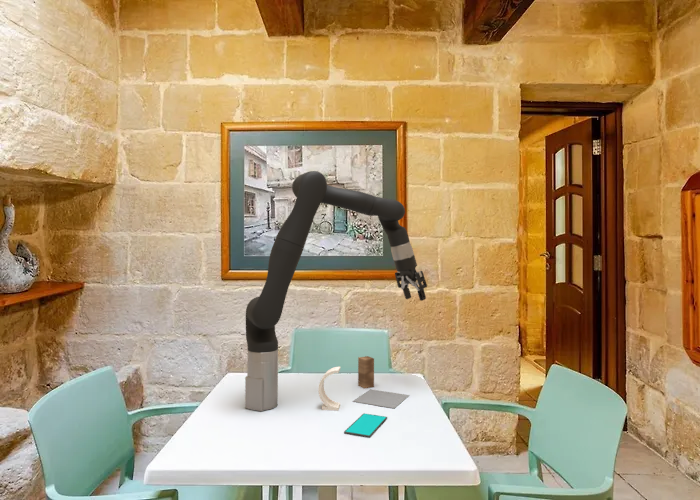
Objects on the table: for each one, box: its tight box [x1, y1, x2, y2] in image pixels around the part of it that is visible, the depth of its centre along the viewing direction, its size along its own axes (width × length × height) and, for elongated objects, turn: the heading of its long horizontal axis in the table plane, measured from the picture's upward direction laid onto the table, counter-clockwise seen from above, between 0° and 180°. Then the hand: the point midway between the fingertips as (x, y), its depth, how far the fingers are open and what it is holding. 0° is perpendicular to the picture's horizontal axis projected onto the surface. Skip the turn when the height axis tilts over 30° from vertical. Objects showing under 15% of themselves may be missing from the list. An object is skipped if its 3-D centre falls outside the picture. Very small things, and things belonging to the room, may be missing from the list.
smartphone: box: [343, 412, 388, 439], centre depth 126 cm, size 7×1×15 cm
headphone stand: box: [317, 366, 341, 411], centre depth 140 cm, size 5×6×12 cm
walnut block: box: [357, 355, 375, 390], centre depth 162 cm, size 4×4×10 cm
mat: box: [352, 388, 410, 409], centre depth 149 cm, size 14×14×1 cm
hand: (415, 299), depth 166 cm, fingers open, 8 cm apart
